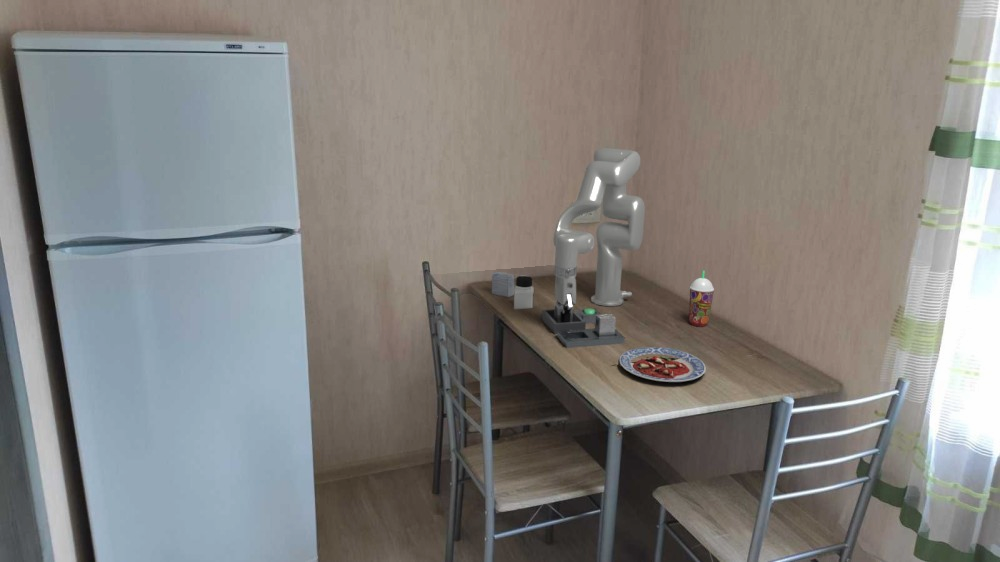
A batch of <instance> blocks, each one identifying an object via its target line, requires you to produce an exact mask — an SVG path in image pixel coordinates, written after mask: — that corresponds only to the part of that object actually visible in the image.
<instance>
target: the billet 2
mask: <svg viewBox="0 0 1000 562" xmlns="http://www.w3.org/2000/svg"><path fill="white" fill-rule="evenodd" d="M616 323H617V317H616V316H615V315H614V314H612V313H606V314H605V313H604V314H602V313H601V315H596V321H595V323H594V328H595V335H596V336H597V337H604V336H615V329H616Z"/></svg>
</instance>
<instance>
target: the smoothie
mask: <svg viewBox="0 0 1000 562" xmlns="http://www.w3.org/2000/svg"><path fill="white" fill-rule="evenodd" d="M705 272H706V271H705V270H702V277H699V278H695V280H693V281H692V283H691V285H689V307H688V320H689V324H690V325H692V326H695V327H701V328H702V327H706V326H707V324H708V323H709V320H710V314H711V309H712V302H713V297H714V291H715V288H714V286H713V283H712V282H711V280H709V279H708V278H706V277H705Z"/></svg>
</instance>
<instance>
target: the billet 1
mask: <svg viewBox="0 0 1000 562" xmlns="http://www.w3.org/2000/svg"><path fill="white" fill-rule="evenodd" d="M565 304H567V302H565ZM566 307H567V306H565V308H566ZM553 309H554V320H555V321H556V323H561V313H562V304H561V303H560V302H557V301H555V302H554V307H553ZM573 310H574V305H573V304H572V309H571V314H570V322H573Z"/></svg>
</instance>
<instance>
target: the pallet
mask: <svg viewBox="0 0 1000 562" xmlns="http://www.w3.org/2000/svg"><path fill="white" fill-rule="evenodd" d="M556 337H557V338H558V340H559V341H560V342H561V343H562V344H563V345H564V347H565V348H567V349H569V348H570V349H571V348H583V347H595V346H596V347H597V346H606V345H607V346H608V345H620V344H621V345H622V344H625V339H626V337H624V335H623V334H621V333H620V332H619V331H618V330H617V329H616V328H615V336H604V337H597V336H596V335H595V327H594V328H585V329H579V330H565V331H557V334H556Z"/></svg>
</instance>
